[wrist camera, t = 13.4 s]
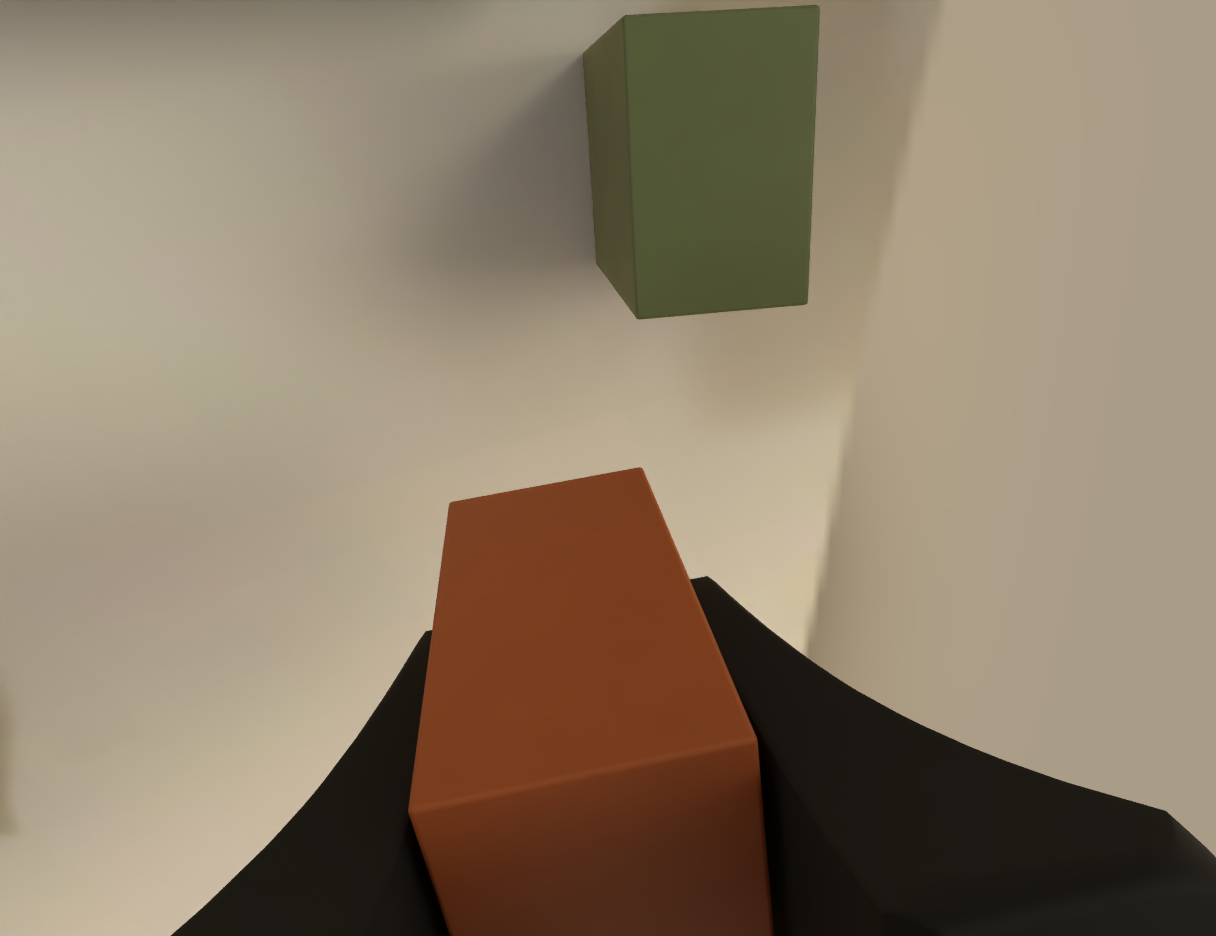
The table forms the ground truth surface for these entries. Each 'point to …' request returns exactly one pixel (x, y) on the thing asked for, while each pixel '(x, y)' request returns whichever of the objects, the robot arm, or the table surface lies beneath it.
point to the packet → (704, 158)
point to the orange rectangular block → (583, 728)
